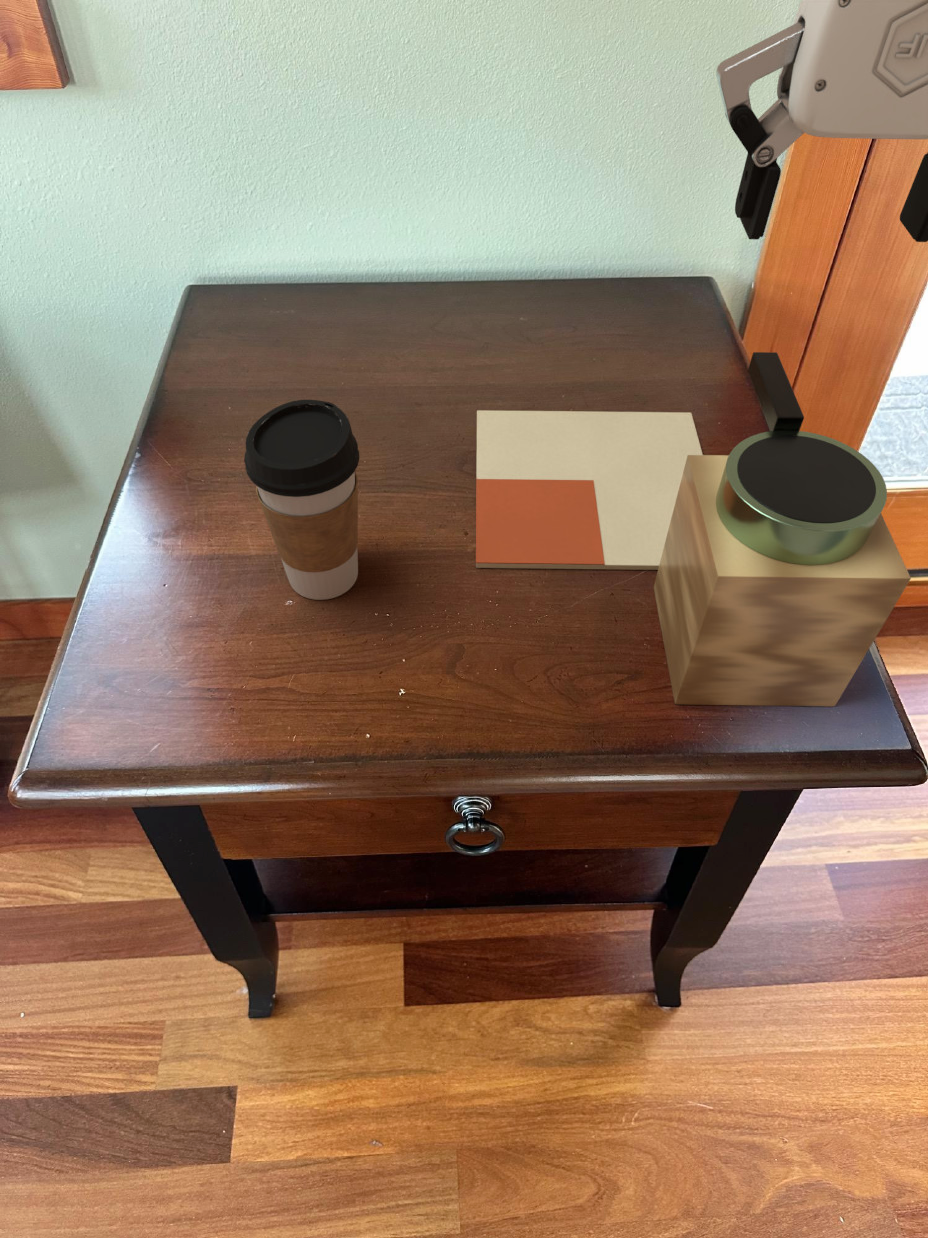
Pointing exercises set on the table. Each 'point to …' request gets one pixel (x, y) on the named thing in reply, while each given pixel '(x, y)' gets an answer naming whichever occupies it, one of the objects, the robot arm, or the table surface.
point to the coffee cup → (308, 493)
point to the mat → (578, 487)
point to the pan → (796, 483)
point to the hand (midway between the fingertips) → (831, 230)
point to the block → (764, 608)
